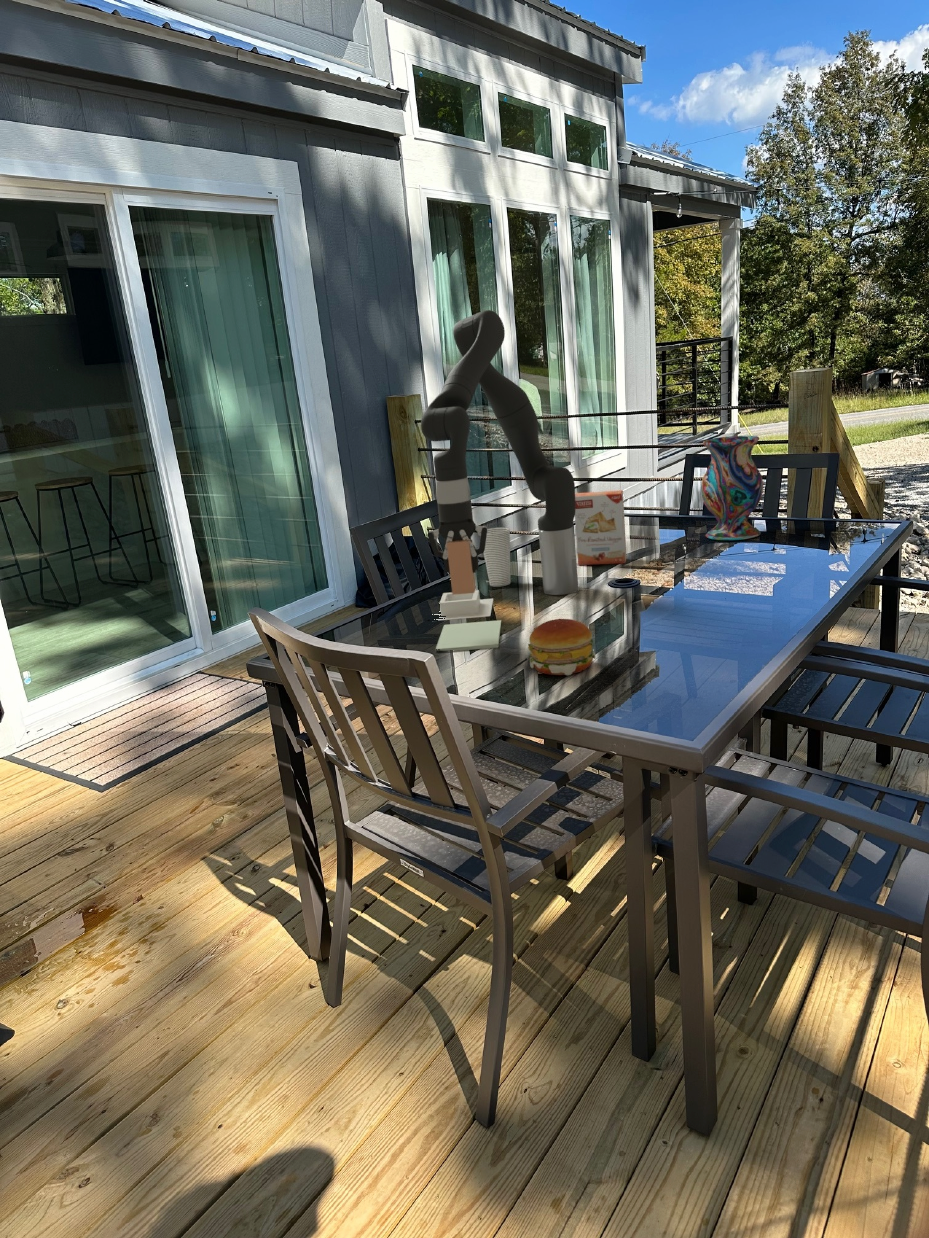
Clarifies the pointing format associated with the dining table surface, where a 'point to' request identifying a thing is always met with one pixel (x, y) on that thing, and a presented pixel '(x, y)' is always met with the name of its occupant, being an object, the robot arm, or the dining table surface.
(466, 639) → the mat
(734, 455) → the vase
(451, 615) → the pocket
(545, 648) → the burger
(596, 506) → the cracker box
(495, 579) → the cup
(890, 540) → the dining table surface
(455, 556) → the part
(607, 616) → the dining table surface
